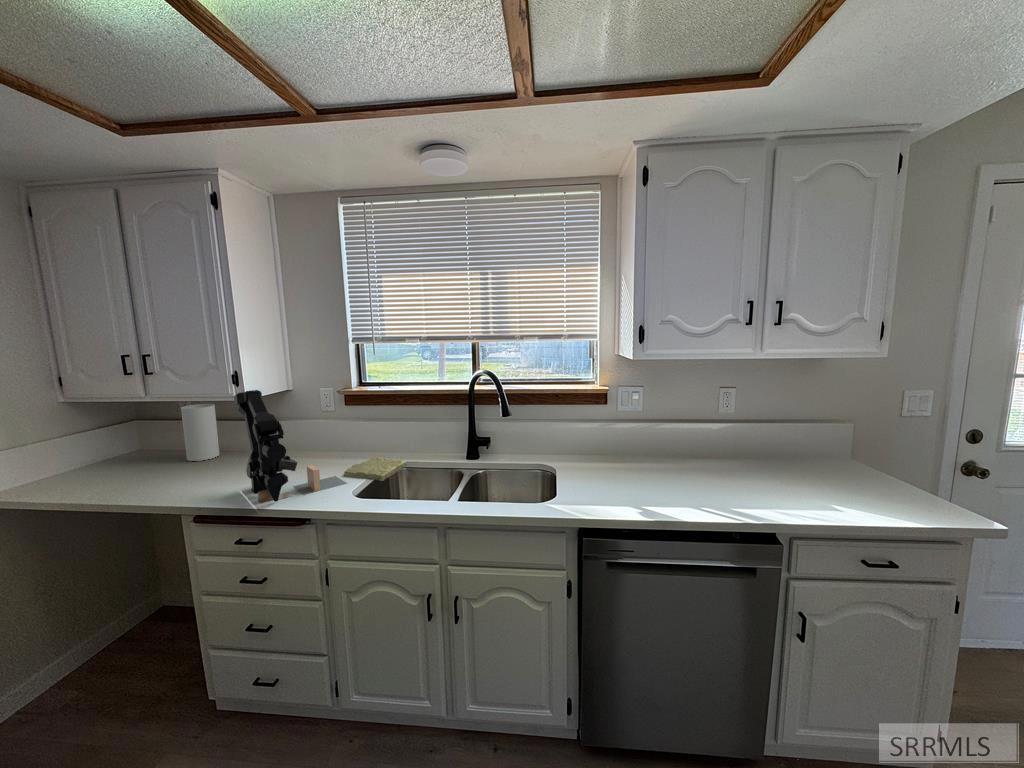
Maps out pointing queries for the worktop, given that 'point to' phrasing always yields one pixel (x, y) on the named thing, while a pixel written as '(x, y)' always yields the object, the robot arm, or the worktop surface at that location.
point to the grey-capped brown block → (265, 496)
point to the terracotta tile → (313, 478)
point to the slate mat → (321, 485)
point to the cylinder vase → (200, 432)
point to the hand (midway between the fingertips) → (272, 497)
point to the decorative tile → (376, 468)
